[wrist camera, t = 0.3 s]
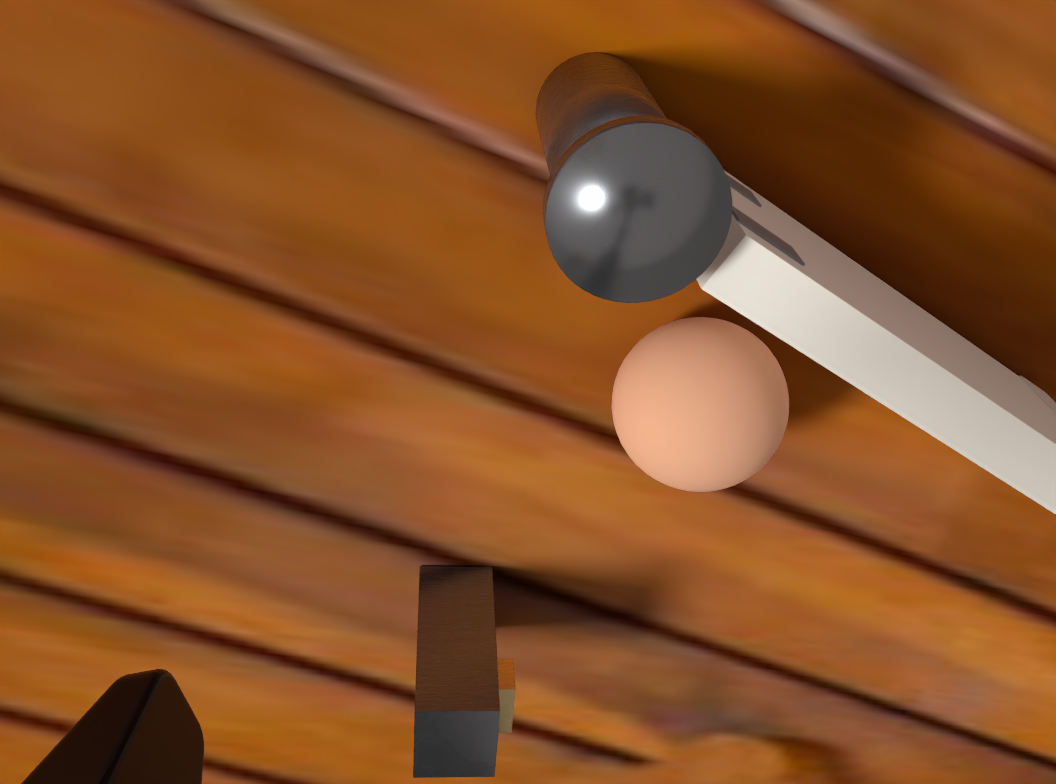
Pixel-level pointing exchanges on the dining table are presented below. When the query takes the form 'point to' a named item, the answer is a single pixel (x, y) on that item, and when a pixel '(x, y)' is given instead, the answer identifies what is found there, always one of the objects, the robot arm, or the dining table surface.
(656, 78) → the dining table surface
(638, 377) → the ball
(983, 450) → the long white bar
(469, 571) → the post
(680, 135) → the hinge post
